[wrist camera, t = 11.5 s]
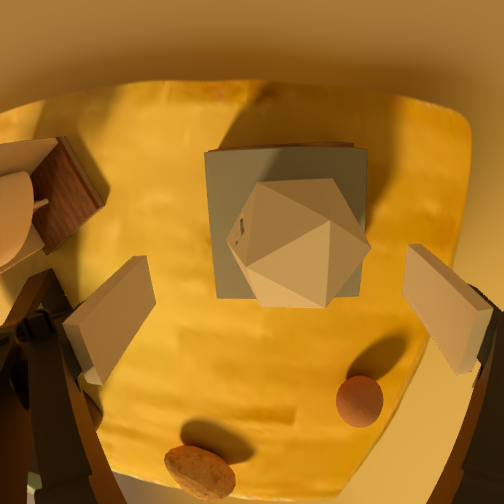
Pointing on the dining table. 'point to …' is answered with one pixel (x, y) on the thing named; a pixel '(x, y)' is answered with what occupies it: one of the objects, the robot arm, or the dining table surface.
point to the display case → (41, 197)
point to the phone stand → (37, 302)
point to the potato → (200, 472)
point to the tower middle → (274, 169)
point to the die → (297, 242)
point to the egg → (359, 401)
